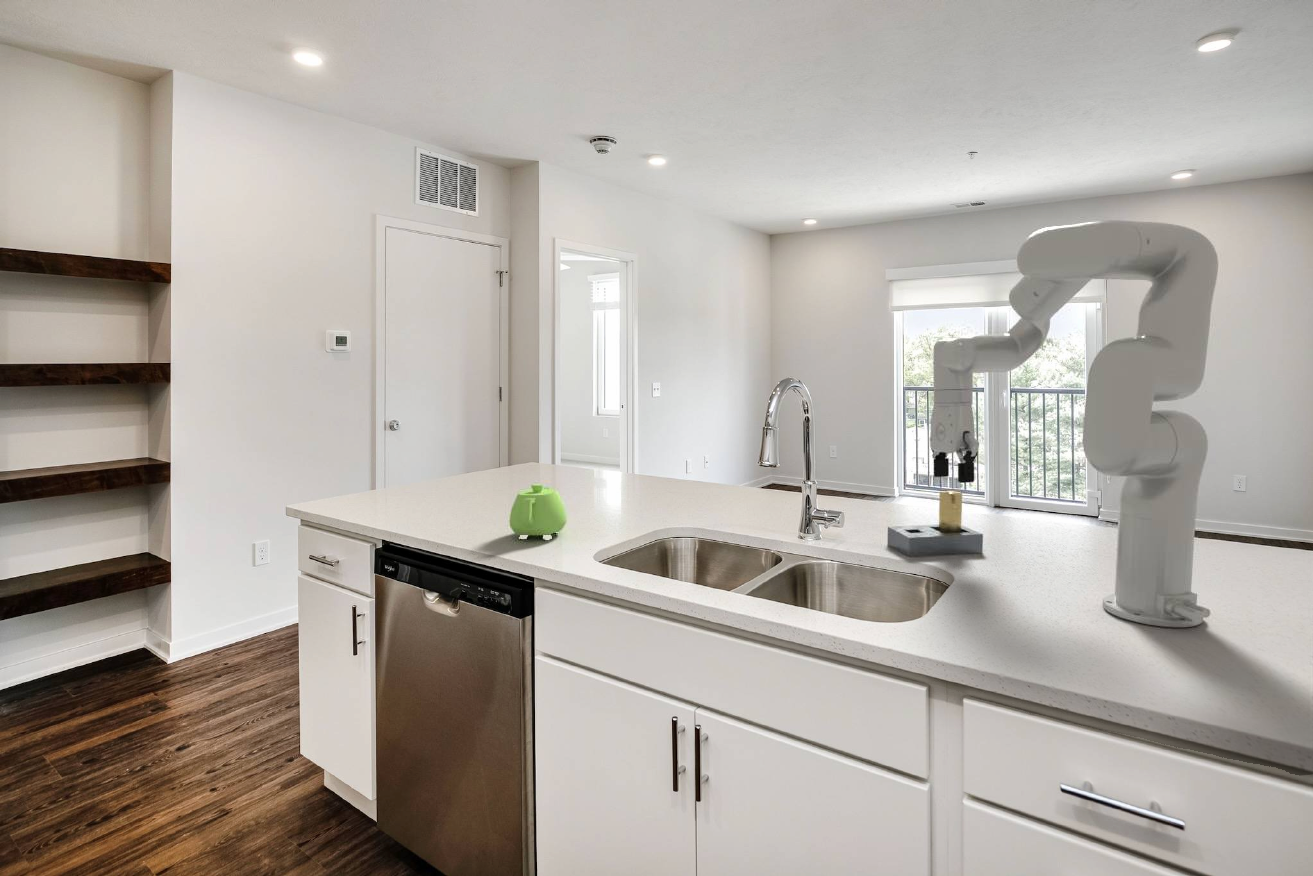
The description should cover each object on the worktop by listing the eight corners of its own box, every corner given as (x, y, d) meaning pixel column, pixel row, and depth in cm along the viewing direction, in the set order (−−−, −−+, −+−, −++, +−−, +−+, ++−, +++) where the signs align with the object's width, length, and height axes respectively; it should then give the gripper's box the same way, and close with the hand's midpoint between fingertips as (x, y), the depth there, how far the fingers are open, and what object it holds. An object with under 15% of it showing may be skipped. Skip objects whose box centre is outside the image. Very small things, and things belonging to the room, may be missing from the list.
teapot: (525, 526, 176) (523, 477, 175) (576, 526, 174) (574, 477, 173) (498, 546, 156) (496, 491, 155) (555, 546, 155) (553, 491, 153)
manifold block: (982, 553, 142) (982, 534, 142) (909, 556, 140) (909, 537, 140) (956, 541, 152) (956, 523, 152) (887, 544, 150) (887, 526, 150)
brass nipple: (945, 551, 144) (946, 495, 143) (934, 545, 149) (935, 491, 147) (964, 550, 145) (966, 494, 143) (953, 545, 149) (955, 490, 148)
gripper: (915, 398, 152) (916, 475, 153) (958, 399, 134) (958, 485, 136) (948, 397, 152) (948, 474, 153) (994, 397, 135) (994, 483, 136)
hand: (953, 479), depth 144 cm, fingers open, 9 cm apart
